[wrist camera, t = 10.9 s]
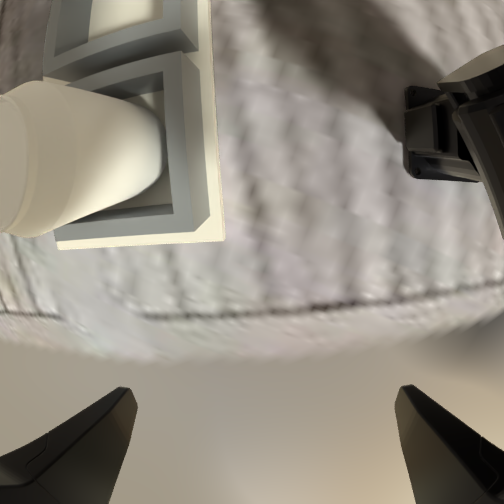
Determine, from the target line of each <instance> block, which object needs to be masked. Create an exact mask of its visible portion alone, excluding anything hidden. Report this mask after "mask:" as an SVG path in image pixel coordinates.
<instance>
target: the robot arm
mask: <svg viewBox="0 0 504 504" xmlns="http://www.w3.org/2000/svg"><path fill="white" fill-rule="evenodd" d="M437 85H438V86H439V88H440V89H441V91H440V90H435V89H429V88H423V87H417V86H409V87H407V88H406V89H405V99H406V110H407V111H406V112H405V113H404V116H405V131H406V148H407V149H408V150H409V173H410V175H411V176H412V177H413V178H416V179H431V180H448V181H462V182H474V183H478V182H479V181H480V182H483V184H484V186H485V189H486V191H487V194H488V196H489V199H490V202H491V204H492V207H493V210H494V213H495V216H496V219H497V222H498V225H499V228H500V231H501V234H502V238H503V239H504V45H501V46H499V47H497V48H494V49H492V50H489V51H487V52H485V53H483V54H481V55H479V56H477V57H476V58H474V59H473V60H471V61H470V62H468V63H466V64H465V65H463V66H462V67H460V68H459V69H457V70H456V71H454V72H452V73H451V74H449V75H448V76H446V77H445V78H443V79H442V80H440V81H439V82H437ZM410 90H412V91H413V92H414V96H412V95H411V93H410ZM416 168H417V169H418V174H417V175H416V174H415V169H416ZM137 409H138V406H137V402H136V400H135V398H134V395H133V393H132V390H131V389H130V388H126V387H118V388H116V389H115V390H113V391H112V392H110V393H109V394H107V395H106V396H104V397H102V398H101V399H99V400H98V401H96V402H95V403H93V404H92V405H90V406H89V407H87V408H86V409H84V410H82V411H81V412H79V413H78V414H76V415H75V416H73V417H71V418H70V419H68V420H67V421H65V422H64V423H62V424H60V425H59V426H57V427H56V428H54V429H52V430H51V431H49V432H48V433H46V434H44V435H43V436H41V437H39V438H38V439H36V440H34V441H32V442H30V443H29V444H27V445H25V446H23V447H21V448H18V449H16V450H14V451H12V452H10V453H7V454H5V455H3V456H1V457H0V504H109V501H110V498H111V495H112V492H113V489H114V486H115V483H116V480H117V477H118V474H119V471H120V469H121V466H122V463H123V460H124V457H125V455H126V452H127V449H128V446H129V442H130V439H131V435H132V430H133V426H134V422H135V418H136V414H137ZM395 413H396V418H397V424H398V430H399V437H400V442H401V447H402V451H403V455H404V458H405V462H406V466H407V469H408V473H409V477H410V481H411V485H412V489H413V493H414V497H415V501H416V504H504V451H503V450H501V449H499V448H498V447H496V446H495V445H494V444H492V443H491V442H489V441H488V440H486V439H485V438H484V437H481V435H480V434H478V433H477V432H476V431H474V430H473V429H472V428H470V427H469V426H467V425H466V424H465V423H464V422H462V421H461V420H460V419H458V418H457V417H455V416H454V415H453V414H451V413H450V412H449V411H447V410H446V409H445V408H443V407H442V406H441V405H439V404H438V403H437V402H435V401H434V400H433V399H431V398H430V397H429V396H427V395H426V394H425V393H423V392H422V391H421V390H419V389H418V388H417V387H415V386H414V385H412V384H410V385H404V386H401V387H400V389H399V392H398V395H397V398H396V401H395Z"/></svg>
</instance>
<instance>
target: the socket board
mask: <svg viewBox="0 0 504 504" xmlns="http://www.w3.org/2000/svg"><path fill="white" fill-rule="evenodd" d="M42 72H43V75H42V76H43V81H44V82H49V83H55V84H59V85H64V86H69V87H73V88H78V89H82V90H86V91H90V92H94V93H98V94H102V95H106V96H110V97H113V98H117V99H120V100H124V101H127V102H131V103H134V104H137V105H140V106H143V107H145V108H147V109H149V110H150V111H151V112H153V113H154V114H155V115H156V116H157V117H158V118H159V119H160V121H161V122H162V124H163V126H164V128H165V130H166V138H167V151H168V158H167V162H166V165H165V168H164V170H163V172H162V174H161V176H160V177H159V179H158V180H157V181H156V183H155V184H154V185H153V186H152V187H151V188H149V189H148V190H147V191H145V192H144V193H142V194H140V195H138V196H135V197H133V198H130V199H128V200H125V201H122V202H120V203H117V204H114V205H112V206H109V207H107V208H104V209H102V210H99V211H97V212H94V213H92V214H89V215H87V216H84V217H82V218H79V219H77V220H74V221H72V222H70V223H67V224H65V225H63V226H60V227H58V228H56V229H54V236H55V240H56V242H57V246H58V250H67V249H83V248H100V247H117V246H135V245H153V244H173V243H193V242H214V241H224V239H225V238H226V232H225V221H224V210H223V198H222V186H221V174H220V161H219V147H218V134H217V119H216V104H215V87H214V70H213V51H212V30H211V6H210V0H52V4H51V9H50V15H49V21H48V23H47V30H46V37H45V45H44V55H43V67H42Z"/></svg>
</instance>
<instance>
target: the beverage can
mask: <svg viewBox="0 0 504 504" xmlns="http://www.w3.org/2000/svg"><path fill="white" fill-rule="evenodd" d="M167 158H168V151H167V138H166V130H165V128H164V126H163V124H162V122H161V121H160V119H159V118H158V117H157V116H156V115H155V114H154V113H153V112H151V111H150V110H149V109H147V108H145V107H143V106H140V105H137V104H134V103H131V102H127V101H124V100H120V99H117V98H113V97H110V96H106V95H102V94H98V93H94V92H90V91H86V90H82V89H78V88H73V87H69V86H64V85H59V84H55V83H49V82H44V81H30V82H27V83H24V84H22V85H19V86H18V87H16V88H14V89H12V90H10V91H9V92H7V93H5V94H4V95H0V233H2V232H6V233H9V234H12V235H15V236H19V237H23V238H33V237H37V236H40V235H42V234H45V233H47V232H49V231H51V230H54V229H56V228H58V227H60V226H63V225H65V224H67V223H70V222H72V221H74V220H77V219H79V218H82V217H84V216H87V215H89V214H92V213H94V212H97V211H99V210H102V209H104V208H107V207H109V206H112V205H114V204H117V203H120V202H122V201H125V200H128V199H130V198H133V197H135V196H138V195H140V194H142V193H144V192H145V191H147V190H148V189H149V188H151V187H152V186H153V185H154V184H155V183H156V181H157V180H158V179H159V177H160V176H161V174H162V172H163V170H164V168H165V165H166V162H167Z"/></svg>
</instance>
